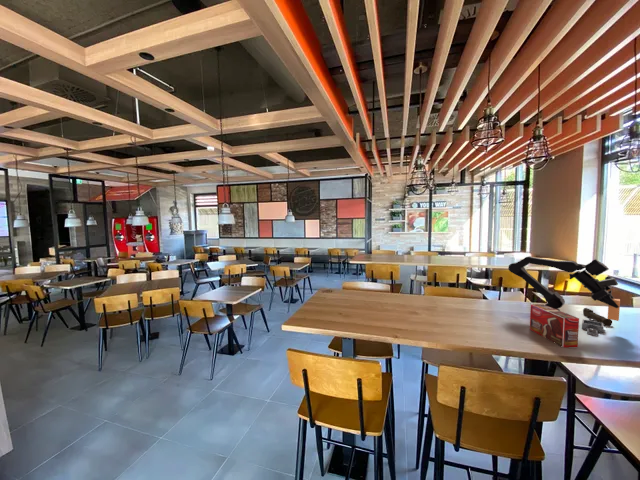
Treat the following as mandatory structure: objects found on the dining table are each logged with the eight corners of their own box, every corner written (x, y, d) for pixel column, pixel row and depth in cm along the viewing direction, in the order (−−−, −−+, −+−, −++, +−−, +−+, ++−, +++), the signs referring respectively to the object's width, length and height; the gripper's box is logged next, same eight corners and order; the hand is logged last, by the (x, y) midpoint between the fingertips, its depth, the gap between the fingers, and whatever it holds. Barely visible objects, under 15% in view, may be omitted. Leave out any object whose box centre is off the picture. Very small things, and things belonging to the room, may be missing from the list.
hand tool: (612, 326, 140) (613, 318, 140) (602, 325, 142) (603, 317, 141) (589, 315, 158) (589, 307, 158) (580, 314, 160) (581, 306, 159)
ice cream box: (529, 329, 137) (530, 304, 137) (542, 329, 137) (543, 304, 136) (562, 347, 117) (563, 318, 117) (577, 347, 117) (579, 318, 116)
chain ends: (603, 337, 127) (603, 331, 127) (581, 332, 133) (581, 326, 133) (602, 324, 142) (602, 319, 142) (582, 321, 148) (583, 316, 147)
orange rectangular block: (618, 320, 129) (619, 300, 129) (607, 318, 132) (608, 299, 132) (618, 319, 132) (620, 299, 131) (608, 317, 134) (609, 298, 134)
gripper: (602, 274, 128) (636, 301, 120) (606, 269, 139) (637, 294, 131) (578, 287, 134) (609, 314, 126) (584, 281, 146) (613, 306, 138)
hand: (618, 306), depth 130 cm, fingers closed on orange rectangular block, 4 cm apart
